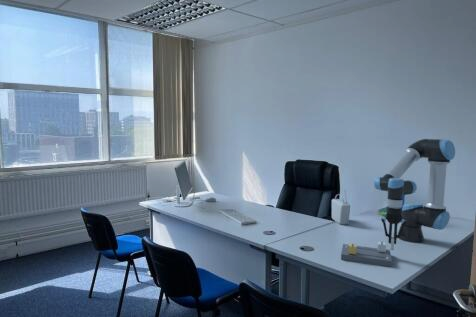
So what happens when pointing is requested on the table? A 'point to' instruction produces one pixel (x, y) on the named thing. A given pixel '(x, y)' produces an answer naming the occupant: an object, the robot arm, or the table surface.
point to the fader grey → (381, 247)
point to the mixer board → (367, 256)
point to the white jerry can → (340, 210)
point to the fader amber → (352, 249)
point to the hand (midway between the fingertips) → (391, 249)
